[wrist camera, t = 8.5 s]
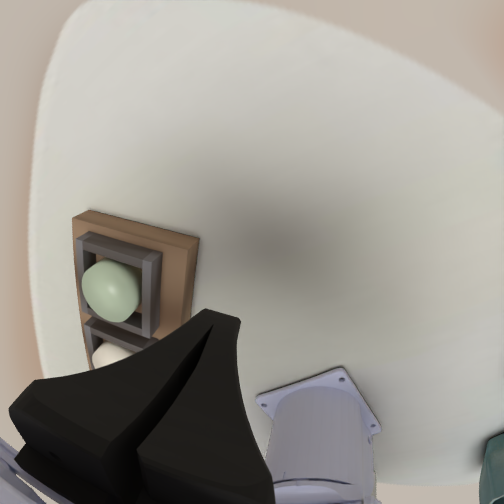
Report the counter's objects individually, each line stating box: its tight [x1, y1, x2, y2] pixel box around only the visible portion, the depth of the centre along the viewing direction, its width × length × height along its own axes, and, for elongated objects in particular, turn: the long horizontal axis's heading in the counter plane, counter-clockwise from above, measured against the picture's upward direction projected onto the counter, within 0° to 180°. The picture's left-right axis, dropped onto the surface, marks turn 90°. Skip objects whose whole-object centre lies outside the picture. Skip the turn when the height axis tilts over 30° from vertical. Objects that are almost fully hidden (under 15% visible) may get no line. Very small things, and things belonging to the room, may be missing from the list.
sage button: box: [82, 257, 142, 322], centre depth 19 cm, size 4×4×2 cm
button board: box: [72, 210, 199, 370], centre depth 24 cm, size 21×9×4 cm, turn 169°
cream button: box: [92, 340, 137, 369], centre depth 22 cm, size 4×4×2 cm
